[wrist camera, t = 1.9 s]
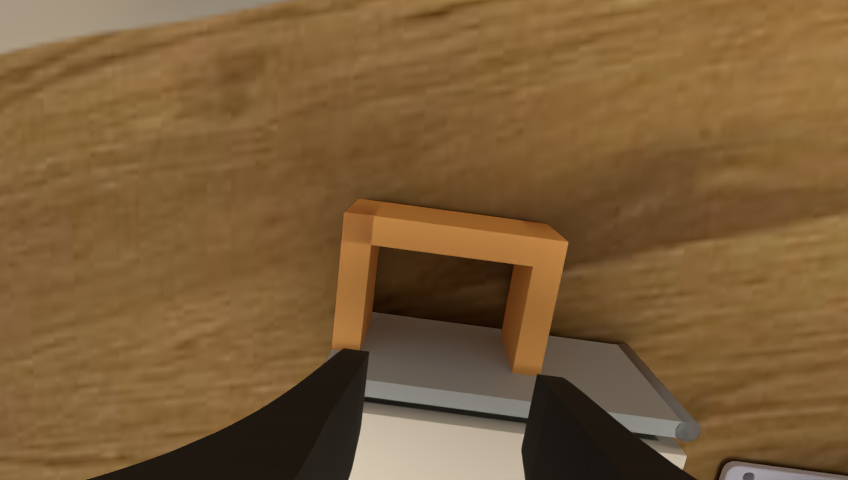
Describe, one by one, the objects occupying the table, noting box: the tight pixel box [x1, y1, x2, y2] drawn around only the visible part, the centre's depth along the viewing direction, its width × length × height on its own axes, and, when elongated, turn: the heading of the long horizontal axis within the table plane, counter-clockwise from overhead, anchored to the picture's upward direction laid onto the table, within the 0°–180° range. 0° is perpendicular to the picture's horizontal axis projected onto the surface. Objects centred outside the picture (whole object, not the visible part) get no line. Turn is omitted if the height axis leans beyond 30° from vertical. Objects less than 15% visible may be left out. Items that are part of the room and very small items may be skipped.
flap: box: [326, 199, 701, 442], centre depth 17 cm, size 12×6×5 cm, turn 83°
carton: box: [349, 396, 687, 480], centre depth 18 cm, size 12×8×6 cm, turn 83°
